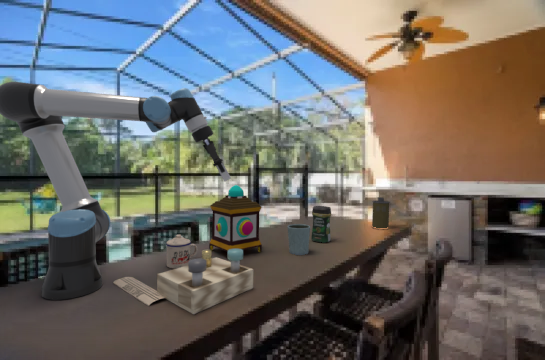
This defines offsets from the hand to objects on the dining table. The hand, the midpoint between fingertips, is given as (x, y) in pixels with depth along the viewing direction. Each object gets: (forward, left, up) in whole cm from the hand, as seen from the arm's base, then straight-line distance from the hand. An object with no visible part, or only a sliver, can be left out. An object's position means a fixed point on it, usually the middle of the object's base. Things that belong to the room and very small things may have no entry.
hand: (227, 178), depth 113 cm
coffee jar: (+57, -9, -34) cm, 67 cm away
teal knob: (-14, -20, -28) cm, 37 cm away
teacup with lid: (-12, +12, -34) cm, 38 cm away
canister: (+114, -20, -34) cm, 121 cm away
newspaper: (-35, 0, -34) cm, 49 cm away
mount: (-21, -15, -33) cm, 42 cm away
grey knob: (-28, -20, -28) cm, 44 cm away
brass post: (-18, -11, -27) cm, 35 cm away
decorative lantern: (+14, +10, -34) cm, 38 cm away
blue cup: (+32, -12, -34) cm, 48 cm away
